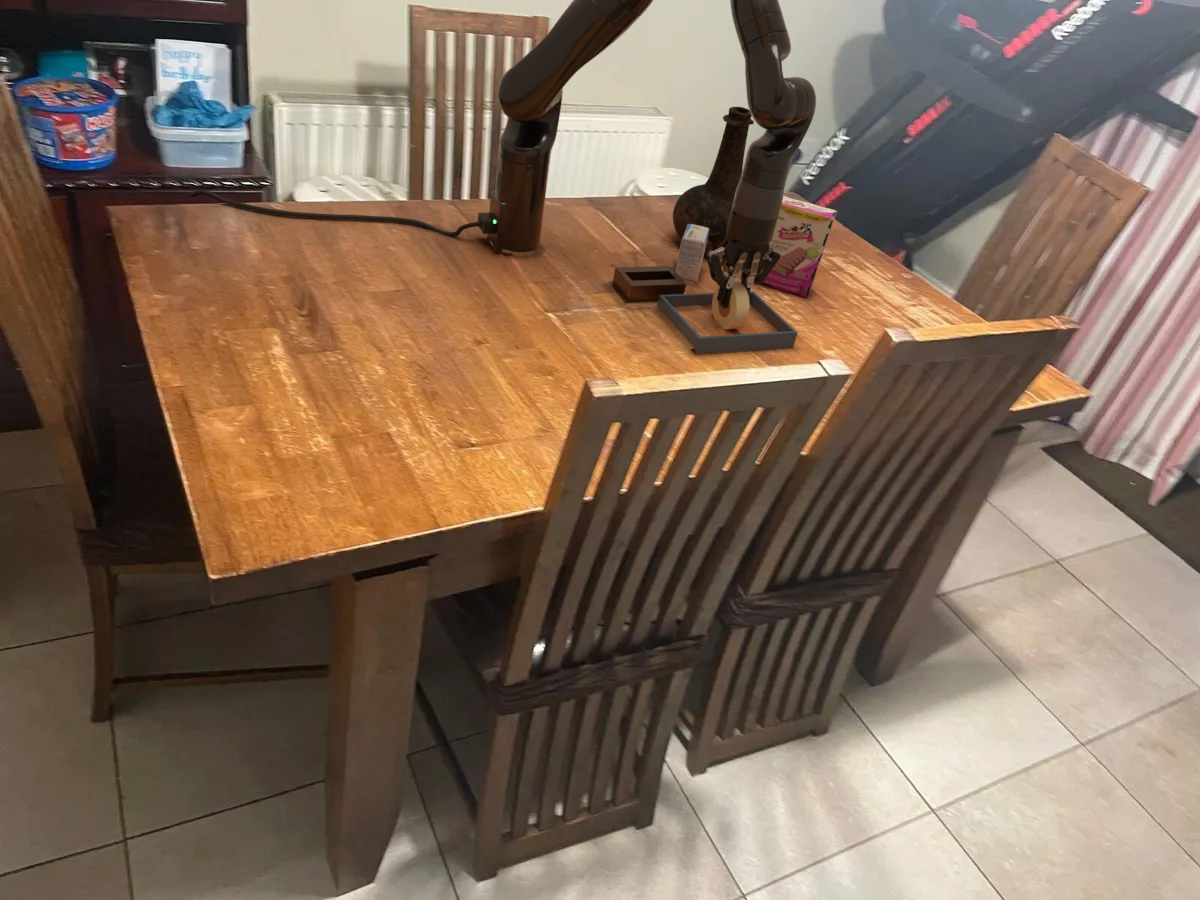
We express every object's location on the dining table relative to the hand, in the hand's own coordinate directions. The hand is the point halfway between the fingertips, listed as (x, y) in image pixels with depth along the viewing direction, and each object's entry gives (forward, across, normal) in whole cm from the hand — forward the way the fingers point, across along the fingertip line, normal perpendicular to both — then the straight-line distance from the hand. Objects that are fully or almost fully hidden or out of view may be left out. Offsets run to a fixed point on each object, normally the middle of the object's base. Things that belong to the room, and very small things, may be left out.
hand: (730, 305), depth 157 cm
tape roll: (+4, 0, 0) cm, 4 cm away
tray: (+5, 0, 0) cm, 5 cm away
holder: (+5, +9, -13) cm, 17 cm away
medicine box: (+5, -3, -20) cm, 21 cm away
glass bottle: (+5, -14, -32) cm, 35 cm away
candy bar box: (+5, -21, -14) cm, 26 cm away
